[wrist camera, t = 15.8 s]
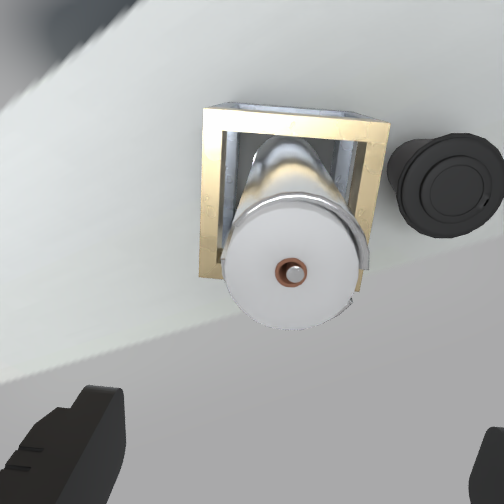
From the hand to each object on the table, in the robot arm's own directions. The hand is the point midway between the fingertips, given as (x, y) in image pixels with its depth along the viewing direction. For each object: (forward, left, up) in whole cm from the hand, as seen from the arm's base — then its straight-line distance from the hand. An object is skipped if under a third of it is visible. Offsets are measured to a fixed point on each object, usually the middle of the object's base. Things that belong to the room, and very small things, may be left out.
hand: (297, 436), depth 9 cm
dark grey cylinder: (-13, -1, -34) cm, 36 cm away
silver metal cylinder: (0, 0, -34) cm, 34 cm away
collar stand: (0, 0, -34) cm, 34 cm away
